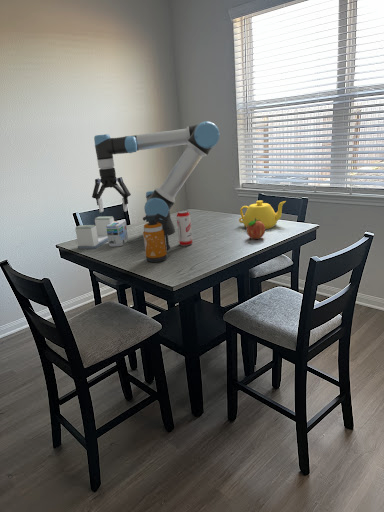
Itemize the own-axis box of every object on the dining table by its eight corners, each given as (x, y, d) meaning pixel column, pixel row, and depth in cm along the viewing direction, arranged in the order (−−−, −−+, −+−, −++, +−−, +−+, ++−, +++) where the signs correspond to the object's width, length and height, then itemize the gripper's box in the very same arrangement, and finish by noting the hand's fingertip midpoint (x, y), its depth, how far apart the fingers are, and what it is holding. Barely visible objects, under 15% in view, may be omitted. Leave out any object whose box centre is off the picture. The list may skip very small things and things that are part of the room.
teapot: (288, 222, 211) (288, 196, 206) (284, 230, 195) (284, 203, 191) (242, 222, 219) (241, 198, 215) (235, 230, 204) (234, 204, 199)
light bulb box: (121, 246, 194) (118, 225, 190) (108, 246, 195) (105, 225, 192) (128, 240, 204) (126, 220, 200) (116, 240, 205) (113, 220, 202)
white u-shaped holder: (117, 235, 215) (114, 216, 211) (95, 248, 194) (91, 227, 191) (101, 235, 218) (97, 216, 214) (78, 248, 197) (74, 227, 194)
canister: (146, 257, 173) (141, 213, 167) (171, 254, 174) (166, 210, 167) (146, 264, 165) (140, 217, 158) (172, 261, 165) (167, 215, 159)
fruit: (269, 237, 187) (268, 216, 184) (257, 242, 180) (257, 221, 177) (254, 234, 193) (253, 215, 189) (242, 239, 186) (241, 219, 183)
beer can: (194, 242, 189) (191, 210, 184) (190, 246, 184) (186, 213, 179) (182, 242, 191) (179, 210, 186) (177, 246, 186) (174, 213, 181)
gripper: (133, 165, 187) (139, 208, 194) (88, 168, 195) (95, 210, 202) (126, 167, 181) (132, 212, 187) (80, 170, 189) (88, 213, 195)
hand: (113, 211), depth 195 cm, fingers open, 13 cm apart
